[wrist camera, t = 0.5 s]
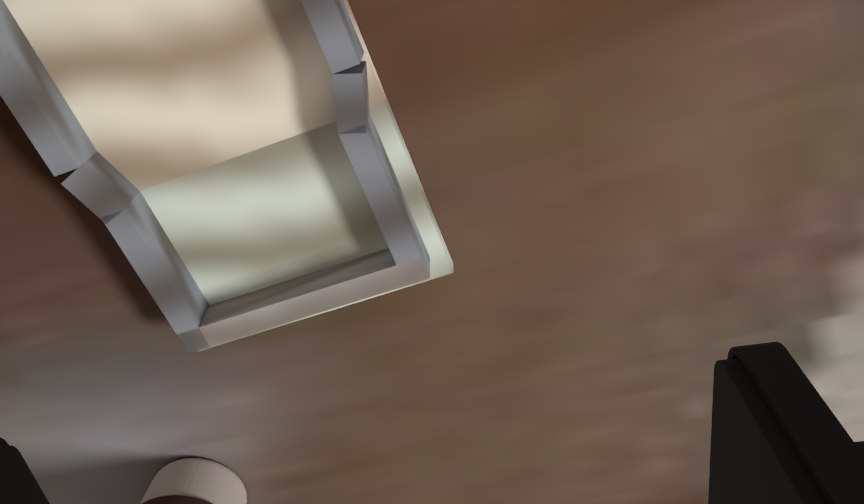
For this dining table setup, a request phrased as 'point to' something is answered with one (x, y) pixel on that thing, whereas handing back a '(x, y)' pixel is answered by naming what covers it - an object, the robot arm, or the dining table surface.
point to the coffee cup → (195, 484)
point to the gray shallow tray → (225, 152)
